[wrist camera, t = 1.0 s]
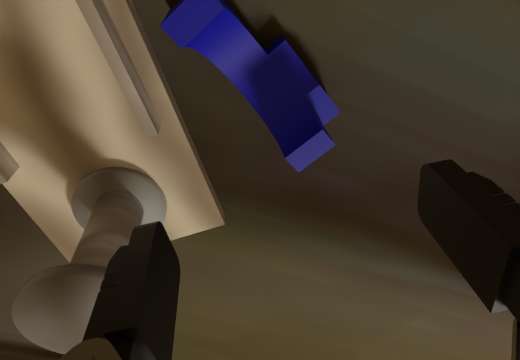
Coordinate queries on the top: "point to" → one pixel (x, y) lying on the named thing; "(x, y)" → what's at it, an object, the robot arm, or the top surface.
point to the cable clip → (259, 76)
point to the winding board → (90, 150)
